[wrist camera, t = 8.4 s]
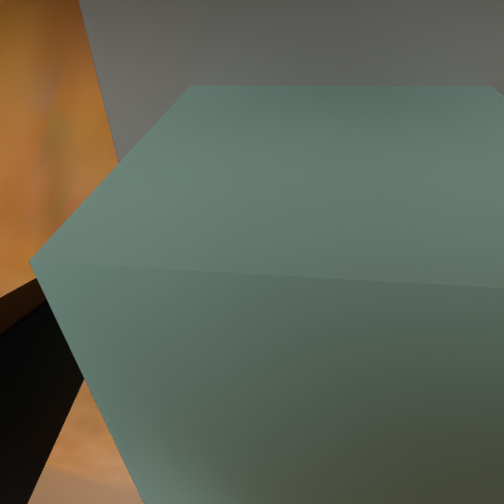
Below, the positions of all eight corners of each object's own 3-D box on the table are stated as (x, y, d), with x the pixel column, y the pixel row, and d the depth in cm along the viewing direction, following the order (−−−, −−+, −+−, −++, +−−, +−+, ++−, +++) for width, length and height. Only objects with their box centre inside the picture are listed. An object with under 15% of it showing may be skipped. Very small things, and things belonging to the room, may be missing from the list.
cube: (420, 306, 11) (498, 563, 7) (214, 293, 12) (150, 517, 7) (491, 85, 8) (782, 304, 3) (190, 85, 8) (28, 261, 4)
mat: (652, -44, 6) (665, -45, 6) (467, 349, 12) (470, 357, 12) (78, -28, 8) (71, -27, 7) (163, 326, 14) (161, 333, 13)
